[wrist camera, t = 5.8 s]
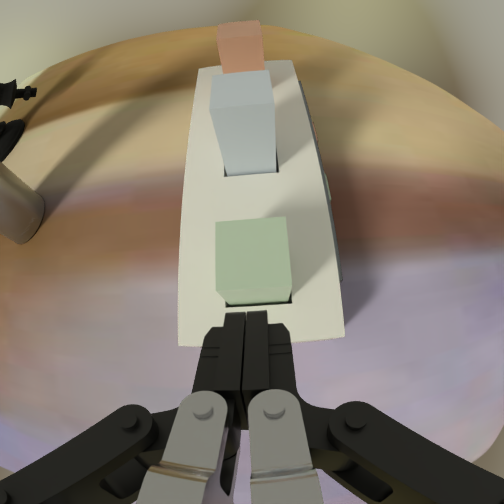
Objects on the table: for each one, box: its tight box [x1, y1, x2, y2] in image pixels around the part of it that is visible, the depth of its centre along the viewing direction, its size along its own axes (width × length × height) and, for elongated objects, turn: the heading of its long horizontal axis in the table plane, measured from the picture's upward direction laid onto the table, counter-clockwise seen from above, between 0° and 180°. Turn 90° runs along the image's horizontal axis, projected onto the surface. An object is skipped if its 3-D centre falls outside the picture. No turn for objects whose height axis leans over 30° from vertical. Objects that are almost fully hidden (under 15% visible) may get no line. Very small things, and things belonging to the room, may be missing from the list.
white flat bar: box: [178, 60, 345, 347], centre depth 31 cm, size 38×15×6 cm, turn 3°
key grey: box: [209, 70, 276, 177], centre depth 25 cm, size 5×5×10 cm
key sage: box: [215, 216, 292, 307], centre depth 24 cm, size 5×5×10 cm
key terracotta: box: [216, 20, 265, 74], centre depth 29 cm, size 5×5×10 cm
